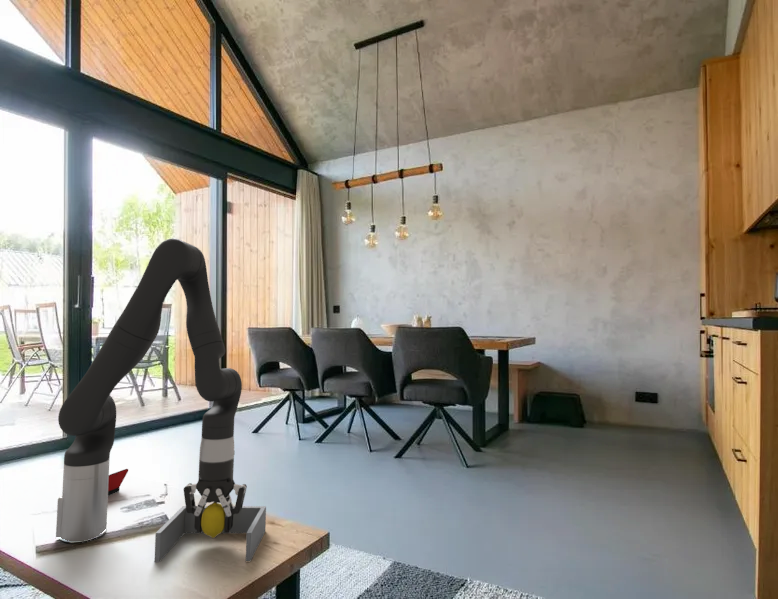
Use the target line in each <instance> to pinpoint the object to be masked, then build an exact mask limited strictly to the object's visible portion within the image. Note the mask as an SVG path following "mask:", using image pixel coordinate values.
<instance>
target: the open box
mask: <svg viewBox="0 0 778 599" xmlns="http://www.w3.org/2000/svg"><path fill="white" fill-rule="evenodd" d="M207 506H208V505H205V507H204V510H205V508H206V507H207ZM233 507H235V506H234V505H233ZM204 510H203V512H204ZM203 512H202V513H203ZM266 517H267V506H266V505H265V506H264V505H261V506H260V505H259V506H258V505H251V506H250V505H246V506H244V505H243V506H242V509H241V510H240V512H239V513H238V514H233V526H232V528H231V530H229V532H228V533H227V534H245V535H246V536H245V539H246V540H245V541H246V542H245V562H246V561H250V562H251V561H252V559H253V558H254V555H255V553H256V551H257V549H258V547H259V545H260V543H261V541H262V539H263V537H264V535H265V533H266V521H267V518H266ZM194 525H195V515H194V514H192V513H187V511H186V505H185V506H181V507H180V508H179V509H178V510H177V511H176V512H175V513H174V514H173V515H172V516H171V517H170V518H169V519H168V520H167V521H166V522H165V523H164V524H163V525H162V526H161V527H160V528H159V529H158V530H157V531H156V532H155V537H154V538H155V542H154V561H153V562H154V563H160V562H161V561H162V560H163V558H165V556H166V555H167V554H168V553H169V552H170V550H171V549H172V548H173V547H174V546H175V545H176V544H177V542H179V541H180V539H181V538H182V537H183V536H184V534H198V533H197V530H195V528H194ZM199 534H205V533H204V532H203V530H202V531H201V532H200V533H199ZM220 534H225V533H224V530H223V531H222V532H221V533H220Z"/></svg>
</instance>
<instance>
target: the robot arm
mask: <svg viewBox="0 0 778 599" xmlns="http://www.w3.org/2000/svg"><path fill="white" fill-rule="evenodd" d="M208 278H209V277H208V271H207V264H206V259H205V256H204V253H203V252H202V250H200V248H199V247H197V246H195V245H194V244H190V243H188V242H186V241H184V240H181V239H179V238H168V239H165V240H164V241H162V242H160V244H159V245H158V246H157V247H156V248H155V249H154V251H153V253H152V255H151V257H150V259H149V261H148V264H147V265H146V268H145V271H144V272H143V275H142V276H141V279H140V281H139V283H138V285H137V287H136V289H135V291H134V292H133V294H131V297H130V299H129V300H128V302H127V305H126V306H125V308H124V309H123V311H122V312H121V314H120V316H119V317H118V318H117V320H116V321H115V323H114V326H113V327H112V329H111V330H110V332H109V334H108V335H107V337H106V339H105V340H104V342H103V344H102V346H101V348H100V349H99V351H98V353H97V354H96V355H95V357H94V359H93V360H92V362H91V364H90V366H89V368H88V370H87V371H86V373H85V374H84V376H82V378H81V379H80V381H79V382H78V384H76V386H75V387H74V389H73V390H72V391H71V393H70V394H69V395H68V396H67V398H66V399H65V400H64V401H63V403H62V405H61V407H60V410H59V412H58V417H57V418H58V420H57V421H58V426H59V428H60V430H62V432H63V433H64V434H66V435H68V436H75V438H74V441H72V444H71V445H70V446H69V447H68V448H67V449H66V450H65V452H64V457H63V471H62V472H63V475H62V476H63V477H62V491H61V492H62V495H61V496H59V497H58V499H57V507H56V508H57V509H56V525H55V527H56V528H55V538H56V537H61V538H62V539H65V540H67V541H68V540H69V541H84V540H88V539H91V538H94V537H96V536H97V535H99V534H100V533H102V532H103V531H104V530H105V529H106V530H107V524H108V523H107V522H108V521H107V520H108V504H109V503H108V502H109V500H108V499H109V496H108V482H109V475H110V454H111V450H112V448H113V446H114V443H115V438H116V437H115V436H116V435H115V434H116V424H117V406H116V405H117V404H116V403H115V400H114V398H113V396H111V394H112V392H113V391H114V389H115V387H116V386H117V385H118V384H119V383H120V381H122V380H123V379H124V378H126V376H127V375H128V374H129V373H130V372H131V371H133V369H134V368H135V367H137V365H138V364H139V363H140V362H142V360H143V358H144V357H145V356H146V355H147V353H148V351H149V349H150V348H151V346H152V345H153V343H154V341H155V339H156V338H157V336H158V334H159V332H160V331H159V330H160V328H161V322H162V315H163V314H162V313H163V312H162V311H163V306H164V302H165V300H166V297H167V296H168V294H169V292H170V291H171V289H172V287H173V286H174V284H175V283H176V281H178V282H179V285H180V286H181V288H182V291H183V293H184V296H185V301H186V319H185V321H186V322H185V323H186V327H185V328H186V333H187V337H188V341H189V344H190V348H191V350H192V354H193V356H194V382H195V387H196V390H197V392H198V394H199V396H200V397H201V398H202V399H203V400H204V401H207V402H212V406H211V408H210V409H209V410H207V411H206V412H205V413H204V414H203V416H202V422H201V439H200V445H199V456H198V457H199V461H198V464H199V465H198V481H197V483H192V482H191V483H190V482H189V483H188V484H186V486H184V487H183V496H184V504H185V506H186V511H187V513H192V514H194V515H195V525H194V528H195V530H197V533H196V534H201V533H200V532H201V531H202V527H201V518H202V514H203V513H202V512H203V510H204V507H205V506H207V504H212V503H213V502H216V503H219V504H221V505H222V508H224V511H225V513H226V516H225V528H224V533H223V534H229V533H228V532H229V530H231V528H232V526H233V514H238V513H239V512H240V510H241V509H242V506H244V501H245V497H246V492H247V488H248V487H247V484H245V483H243V484H241V485H240V484H237V483H236V482H235V480H234V469H235V468H234V465H235V463H234V462H235V453H236V452H235V438H234V437H235V436H234V435H235V417H236V413H237V410H238V407H239V403H240V398H241V396H242V388H243V387H242V386H243V383H242V382H243V381H242V377H241V376H240V374H239V372H238V371H237V370H235V369H233V368H232V367H231V368H230V367H226V368H225V367H224V368H221V367H220V359H222V358H223V356H225V354H226V347H225V344H224V340H223V337H222V335H221V331H220V328H219V325H218V321H217V318H216V315H215V310H214V308H213V306H214V305H213V302H212V301H213V300H212V296H211V292H210V286H209V279H208ZM233 490H234V492H235V493H234V494H235V495H236V496H237V497H236V502H235V507H233V506H234V505H233V503H232V502H233V500H232V497H231V495H230V494H231V493H232V491H233ZM196 491H197V492H198V493H199V495H200V496H201V497H200V498H199V499H200V500H199V502H198V503H197V505H196V499H195V494H196Z"/></svg>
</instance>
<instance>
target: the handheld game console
mask: <svg viewBox="0 0 778 599" xmlns="http://www.w3.org/2000/svg"><path fill="white" fill-rule="evenodd" d="M128 472H129V468H125V469H121V470H120V471H116V472H114V473H111V474H110V473H109V482H108V497H109V496H111V495H113V494H116V493H119V492H120V487H121V484H122V483H123V481H124V479H125V477H126V476H127V474H128Z"/></svg>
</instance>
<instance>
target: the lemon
mask: <svg viewBox="0 0 778 599" xmlns="http://www.w3.org/2000/svg"><path fill="white" fill-rule="evenodd" d="M206 506H207V507H206V508H205V510H204V512H203V514H202V518H201V527H202V530H203V532H204V533H203V534H205V535H206V536H209V537H210V538H212V539H214V538H215V537H217V536H218V535H220V534H222V533H221V532H222V531H223V530H224V528H225V516H226V513H225V511H224V508H222V505H221V503H216V502H211V503H209V505H206Z"/></svg>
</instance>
